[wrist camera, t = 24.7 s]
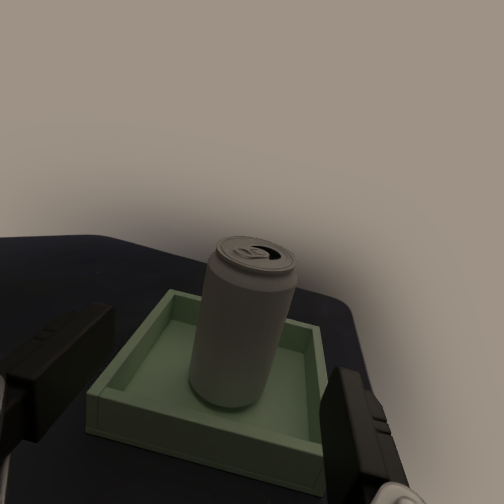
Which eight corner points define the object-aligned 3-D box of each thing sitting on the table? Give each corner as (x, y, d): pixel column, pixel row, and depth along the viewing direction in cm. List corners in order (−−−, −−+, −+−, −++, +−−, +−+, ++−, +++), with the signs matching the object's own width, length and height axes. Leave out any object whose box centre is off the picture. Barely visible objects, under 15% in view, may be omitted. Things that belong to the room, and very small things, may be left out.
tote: (84, 433, 19) (85, 392, 18) (165, 317, 32) (169, 288, 31) (322, 498, 19) (340, 461, 18) (309, 354, 32) (319, 326, 30)
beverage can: (278, 397, 25) (322, 267, 20) (209, 428, 21) (244, 276, 17) (237, 347, 29) (266, 231, 25) (174, 365, 26) (195, 233, 21)
